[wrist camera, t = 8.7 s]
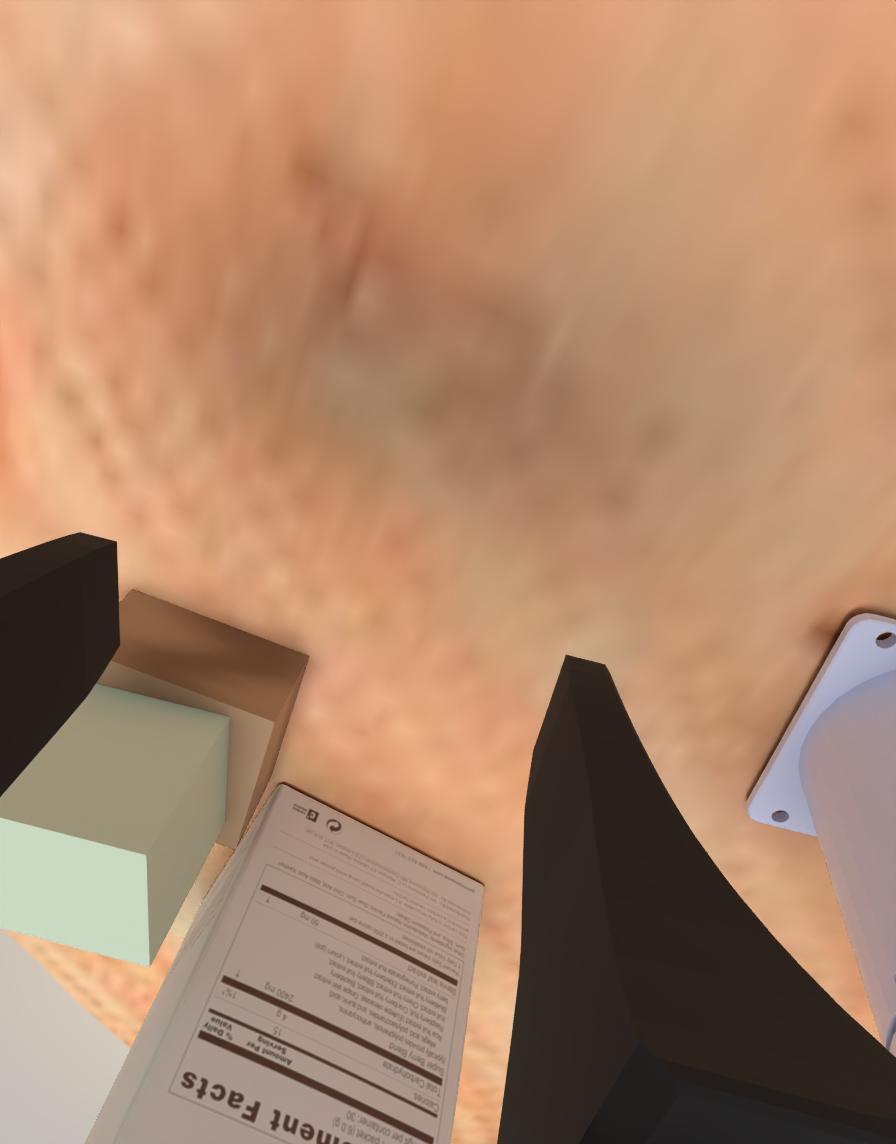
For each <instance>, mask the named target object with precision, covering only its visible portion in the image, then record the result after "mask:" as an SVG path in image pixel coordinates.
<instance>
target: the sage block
mask: <svg viewBox="0 0 896 1144" xmlns="http://www.w3.org/2000/svg"><path fill="white" fill-rule="evenodd" d="M229 726H230V717H228V716H224V715H220V714H216V713H212V712H208V711H204V710H200V709H196V708H192V707H188V706H184V705H180V704H176V703H172V702H168V701H164V700H160V699H156V698H152V697H147V696H143V695H139V694H135V693H131V692H127V691H123V690H119V689H115V688H111V687H107V686H103V685H99V684H95V686H94V687H93V689H92V690H91V692H90V693H89V695H88V696H87V697H86V699H85V700H84V701H83V702H82V703H81V705H80V706H79V707H78V708H77V709H76V711H75V712H74V713H73V714H72V715H71V716H70V718H69V719H68V720H67V721H66V722H65V723H64V725H63V726H62V727H61V728H60V729H59V730H58V732H57V733H56V734H55V735H54V736H53V737H52V739H51V740H50V741H49V742H48V743H47V744H46V745H45V747H44V748H43V749H42V750H41V751H40V752H39V753H38V755H37V756H36V757H35V758H34V759H33V760H32V761H31V763H30V764H29V765H28V766H27V767H26V768H25V770H24V771H23V772H22V773H21V774H20V775H19V776H18V778H17V779H16V780H15V781H14V782H13V783H12V784H11V786H10V787H9V788H8V789H7V790H6V791H5V792H4V794H3V795H2V796H1V797H0V928H3V929H6V930H10V931H14V932H18V933H22V934H25V935H29V936H33V937H37V938H40V939H44V940H48V941H52V942H56V943H59V944H63V945H67V946H71V947H75V948H78V949H82V950H86V951H90V952H93V953H97V954H101V955H105V956H109V957H112V958H116V959H120V960H124V961H128V962H131V963H135V964H139V965H143V966H146V967H150V966H151V964H152V962H153V960H154V958H155V956H156V954H157V952H158V950H159V948H160V947H161V945H162V943H163V941H164V939H165V937H166V935H167V933H168V931H169V929H170V927H171V925H172V923H173V922H174V920H175V918H176V916H177V914H178V912H179V910H180V908H181V906H182V904H183V902H184V900H185V899H186V897H187V895H188V893H189V891H190V889H191V887H192V885H193V883H194V881H195V879H196V877H197V875H198V874H199V872H200V870H201V868H202V866H203V864H204V862H205V860H206V858H207V856H208V854H209V852H210V850H211V849H212V847H213V845H214V843H215V841H216V839H217V837H218V835H219V833H220V831H221V829H222V827H223V826H224V824H225V812H226V791H227V769H228V748H229Z"/></svg>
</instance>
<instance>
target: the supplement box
mask: <svg viewBox="0 0 896 1144" xmlns="http://www.w3.org/2000/svg"><path fill="white" fill-rule="evenodd" d="M484 890H485V889H484V886H483V885H481V884H480V883H478V882H476V881H474V880H472V879H470V878H468V877H466V876H464V875H462V874H460V873H458V872H456V871H454V870H452V869H450V868H448V867H446V866H444V865H442V864H440V863H438V862H436V861H434V860H433V859H431V858H429V857H427V856H425V855H423V854H421V853H419V852H417V851H415V850H413V849H411V848H409V847H407V846H405V845H403V844H401V843H399V842H397V841H395V840H393V839H392V838H390V837H388V836H386V835H384V834H382V833H380V832H378V831H376V830H374V829H372V828H370V827H368V826H366V825H364V824H362V823H360V822H358V821H356V820H354V819H352V818H350V817H348V816H346V815H344V814H342V813H340V812H338V811H336V810H334V809H332V808H330V807H328V806H326V805H324V804H322V803H320V802H318V801H316V800H314V799H312V798H310V797H308V796H306V795H304V794H302V793H300V792H298V791H296V790H294V789H292V788H290V787H288V786H287V785H284V784H280V785H278V786H277V787H276V788H275V790H274V791H273V793H272V794H271V796H270V797H269V799H268V801H267V802H266V804H265V805H264V807H263V808H262V810H261V811H260V813H259V814H258V816H257V817H256V819H255V821H254V822H253V824H252V825H251V827H250V828H249V830H248V831H247V833H246V834H245V836H244V838H243V839H242V841H241V842H240V844H239V845H238V847H237V848H236V850H235V852H234V853H233V855H232V856H231V858H230V859H229V861H228V862H227V864H226V866H225V867H224V869H223V870H222V872H221V873H220V875H219V877H218V878H217V880H216V881H215V883H214V884H213V886H212V888H211V889H210V891H209V892H208V894H207V895H206V897H205V899H204V900H203V902H202V904H201V906H200V908H199V910H198V912H197V914H196V916H195V918H194V920H193V922H192V924H191V926H190V928H189V930H188V932H187V934H186V937H185V939H184V941H183V943H182V945H181V947H180V949H179V951H178V953H177V955H176V957H175V959H174V961H173V963H172V965H171V968H170V970H169V972H168V974H167V976H166V978H165V980H164V982H163V984H162V986H161V988H160V990H159V992H158V994H157V996H156V998H155V1000H154V1002H153V1004H152V1006H151V1008H150V1010H149V1012H148V1014H147V1017H146V1019H145V1021H144V1023H143V1025H142V1027H141V1029H140V1031H139V1033H138V1035H137V1037H136V1039H135V1041H134V1043H133V1045H132V1047H131V1049H130V1051H129V1054H128V1056H127V1058H126V1060H125V1062H124V1064H123V1066H122V1068H121V1070H120V1072H119V1074H118V1076H117V1078H116V1080H115V1082H114V1085H113V1086H112V1089H111V1091H110V1093H109V1095H108V1097H107V1099H106V1101H105V1103H104V1105H103V1107H102V1109H101V1111H100V1113H99V1115H98V1117H97V1119H96V1121H95V1124H94V1126H93V1128H92V1130H91V1132H90V1134H89V1136H88V1138H87V1140H86V1142H85V1144H451V1136H452V1129H453V1122H454V1116H455V1109H456V1101H457V1094H458V1086H459V1079H460V1072H461V1064H462V1057H463V1049H464V1042H465V1035H466V1027H467V1019H468V1012H469V1004H470V997H471V989H472V982H473V974H474V966H475V959H476V951H477V943H478V935H479V926H480V919H481V913H482V905H483V897H484Z"/></svg>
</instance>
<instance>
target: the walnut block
mask: <svg viewBox="0 0 896 1144" xmlns="http://www.w3.org/2000/svg"><path fill="white" fill-rule="evenodd" d="M119 623H120V646H119V648H118V650H117V651H116V653H115V655H114V656H113V658H112V659H111V661H110V663H109V664H108V666H107V667H106V669H105V671H104V672H103V674H102V675H101V677H100V678H99V680H98V681H97V683H96V684H99V685H103V686H107V687H111V688H115V689H119V690H123V691H127V692H131V693H135V694H139V695H143V696H147V697H152V698H156V699H160V700H164V701H168V702H172V703H176V704H180V705H184V706H188V707H192V708H196V709H200V710H204V711H208V712H212V713H216V714H220V715H224V716H228V717H230V726H229V748H228V769H227V791H226V812H225V824H224V826H223V827H222V829H221V831H220V833H219V835H218V837H217V839H216V841H215V842H216V843H219V844H221V845H224V846H227V847H230V848H232V849H235V850H236V848H237V846H238V844H239V842H240V840H241V838H242V836H243V833H244V831H245V829H246V827H247V825H248V823H249V821H250V819H251V817H252V815H253V813H254V811H255V809H256V807H257V805H258V803H259V801H260V799H261V796H262V794H263V792H264V790H265V788H266V786H267V784H268V782H269V780H270V778H271V775H272V772H273V768H274V765H275V762H276V759H277V756H278V753H279V750H280V747H281V743H282V740H283V737H284V734H285V731H286V728H287V725H288V722H289V718H290V715H291V712H292V709H293V706H294V703H295V700H296V697H297V694H298V690H299V687H300V684H301V681H302V678H303V675H304V672H305V669H306V665H307V662H308V659H309V656H308V655H305V654H302V653H300V652H297V651H294V650H292V649H289V648H286V647H284V646H281V645H279V644H276V643H273V642H271V641H268V640H265V639H263V638H260V637H257V636H255V635H252V634H250V633H247V632H244V631H242V630H239V629H236V628H234V627H231V626H228V625H226V624H223V623H221V622H218V621H215V620H213V619H210V618H207V617H205V616H202V615H199V614H197V613H194V612H191V611H189V610H186V609H184V608H181V607H178V606H176V605H173V604H170V603H168V602H165V601H162V600H160V599H157V598H155V597H152V596H149V595H147V594H144V593H141V592H139V591H136V590H133V589H132V590H131V592H130V593H129V594H128V595H127V596H126V597H125V598H124V599H123V600H122V601H121V602H120V603H119Z"/></svg>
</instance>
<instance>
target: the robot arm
mask: <svg viewBox="0 0 896 1144" xmlns="http://www.w3.org/2000/svg"><path fill="white" fill-rule="evenodd" d="M885 632H891V633H892V635H891V636H890V637H889V638H887V639H884V640H876V638H877V637H878V636H879V635H880V634H882V633H885ZM119 646H120V623H119V593H118V563H117V542H116V541H112V540H108V539H104V538H100V537H96V536H93V535H89V534H85V533H81V532H79V533H76V534H72V535H68V536H65V537H61V538H58V539H55V540H52V541H49V542H46V543H43V544H40V545H37V546H34V547H32V548H29V549H26V550H23V551H20V552H18V553H15V554H12V555H9V556H6V557H4V558H1V559H0V797H1V796H2V795H3V794H4V792H5V791H6V790H7V789H8V788H9V787H10V786H11V784H12V783H13V782H14V781H15V780H16V779H17V778H18V776H19V775H20V774H21V773H22V772H23V771H24V770H25V768H26V767H27V766H28V765H29V764H30V763H31V761H32V760H33V759H34V758H35V757H36V756H37V755H38V753H39V752H40V751H41V750H42V749H43V748H44V747H45V745H46V744H47V743H48V742H49V741H50V740H51V739H52V737H53V736H54V735H55V734H56V733H57V732H58V730H59V729H60V728H61V727H62V726H63V725H64V723H65V722H66V721H67V720H68V719H69V718H70V716H71V715H72V714H73V713H74V712H75V711H76V709H77V708H78V707H79V706H80V705H81V703H82V702H83V701H84V700H85V699H86V697H87V696H88V695H89V693H90V692H91V690H92V689H93V687H94V686H95V684H96V683H97V681H98V680H99V678H100V677H101V675H102V674H103V672H104V671H105V669H106V667H107V666H108V664H109V663H110V661H111V659H112V658H113V656H114V655H115V653H116V651H117V650H118V648H119ZM746 807H747V811H748V814H749V816H750V817H751V818H752V819H753V820H755V821H757V822H760V823H764V824H768V825H772V826H776V827H780V828H784V829H788V830H792V831H795V832H799V833H803V834H807V835H811V836H815V837H818V840H819V843H820V847H821V850H822V853H823V856H824V859H825V863H826V866H827V869H828V872H829V875H830V879H831V882H832V885H833V888H834V891H835V894H836V898H837V901H838V904H839V907H840V910H841V914H842V917H843V920H844V923H845V926H846V930H847V933H848V936H849V939H850V942H851V946H852V949H853V952H854V955H855V958H856V961H857V965H858V968H859V971H860V974H861V977H862V981H863V984H864V987H865V990H866V993H867V997H868V1000H869V1003H870V1006H871V1009H872V1013H873V1016H874V1019H875V1022H876V1025H877V1029H878V1032H879V1035H880V1038H881V1041H882V1044H883V1045H882V1044H881V1043H879V1042H878V1041H877V1040H876V1039H875V1038H874V1037H873V1036H872V1035H871V1034H870V1033H869V1032H867V1031H866V1030H865V1029H864V1028H863V1027H862V1026H861V1025H860V1024H859V1023H858V1022H856V1021H855V1020H854V1019H853V1018H852V1017H851V1016H850V1015H849V1014H848V1013H847V1012H846V1011H845V1010H844V1009H843V1008H842V1007H841V1006H839V1005H838V1004H837V1003H836V1002H835V1001H834V1000H833V998H832V997H831V996H830V995H829V994H828V993H827V992H826V991H825V990H824V989H823V988H822V987H821V986H820V985H819V984H818V983H817V982H816V981H815V980H814V979H813V978H812V977H811V976H810V975H809V974H808V973H807V972H806V971H805V970H804V969H803V968H802V967H801V966H800V965H799V964H798V963H797V961H796V960H795V959H794V958H793V957H792V956H791V955H790V954H789V953H788V952H787V951H786V949H785V948H784V947H783V946H782V945H781V944H780V943H779V942H778V941H777V940H776V939H775V937H774V936H773V935H772V934H771V933H770V932H769V930H768V929H767V928H766V927H765V926H764V925H763V923H762V922H761V921H760V920H759V919H758V917H757V916H756V915H755V914H754V913H753V911H752V910H751V909H750V908H749V907H748V906H747V904H746V903H745V902H744V901H743V900H742V898H741V897H740V896H739V895H738V893H737V892H736V891H735V890H734V888H733V887H732V886H731V885H730V883H729V882H728V881H727V879H726V878H725V877H724V876H723V874H722V873H721V872H720V870H719V869H718V867H717V866H716V865H715V863H714V862H713V860H712V859H711V858H710V856H709V855H708V853H707V852H706V851H705V849H704V848H703V847H702V845H701V844H700V842H699V841H698V840H697V838H696V837H695V835H694V834H693V832H692V831H691V829H690V828H689V826H688V824H687V823H686V821H685V820H684V818H683V817H682V815H681V813H680V812H679V810H678V808H677V807H676V805H675V803H674V802H673V800H672V798H671V797H670V795H669V793H668V791H667V790H666V788H665V786H664V784H663V783H662V781H661V779H660V777H659V775H658V774H657V772H656V770H655V768H654V766H653V764H652V762H651V760H650V758H649V756H648V754H647V753H646V751H645V749H644V747H643V745H642V743H641V741H640V739H639V737H638V735H637V733H636V731H635V729H634V726H633V724H632V722H631V720H630V718H629V716H628V714H627V711H626V709H625V707H624V705H623V702H622V700H621V698H620V696H619V693H618V691H617V689H616V686H615V684H614V682H613V679H612V677H611V674H610V672H609V670H608V669H607V667H606V665H605V664H601V663H597V662H593V661H589V660H585V659H581V658H577V657H573V656H569V655H566V656H565V659H564V662H563V665H562V668H561V671H560V674H559V677H558V680H557V683H556V686H555V689H554V692H553V695H552V698H551V700H550V703H549V706H548V709H547V712H546V715H545V718H544V721H543V724H542V727H541V730H540V733H539V736H538V739H537V742H536V745H535V747H534V750H533V756H532V762H531V769H530V776H529V782H528V789H527V796H526V803H525V815H524V848H523V890H522V933H521V955H520V970H519V980H518V989H517V997H516V1005H515V1013H514V1021H513V1030H512V1038H511V1046H510V1053H509V1061H508V1068H507V1076H506V1083H505V1091H504V1099H503V1106H502V1114H501V1121H500V1128H499V1135H498V1142H497V1144H896V619H892V618H888V617H884V616H880V615H876V614H869V613H864V614H859V615H856V616H855V617H853V618H851V619H850V620H849V621H848V622H847V624H846V625H845V627H844V629H843V630H842V632H841V634H840V636H839V638H838V639H837V641H836V643H835V645H834V646H833V648H832V650H831V652H830V654H829V655H828V657H827V659H826V661H825V662H824V664H823V666H822V668H821V670H820V671H819V673H818V675H817V677H816V678H815V680H814V682H813V684H812V686H811V687H810V689H809V691H808V693H807V695H806V696H805V698H804V700H803V702H802V703H801V705H800V707H799V709H798V711H797V712H796V714H795V716H794V718H793V719H792V721H791V723H790V725H789V727H788V728H787V730H786V732H785V734H784V735H783V737H782V739H781V741H780V743H779V744H778V746H777V748H776V750H775V752H774V753H773V755H772V757H771V759H770V760H769V762H768V764H767V766H766V768H765V769H764V771H763V773H762V775H761V776H760V778H759V780H758V782H757V784H756V785H755V787H754V789H753V791H752V792H751V794H750V796H749V798H748V800H747V803H746ZM779 810H782V811H783V812H781V813H774V812H775V811H779Z"/></svg>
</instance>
